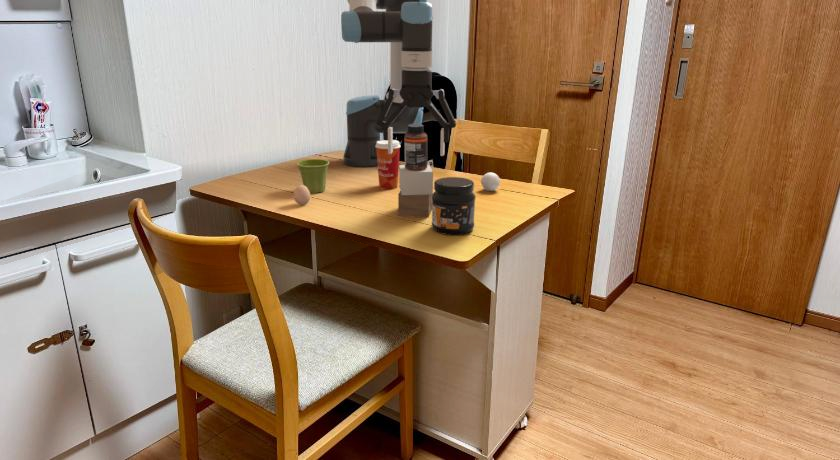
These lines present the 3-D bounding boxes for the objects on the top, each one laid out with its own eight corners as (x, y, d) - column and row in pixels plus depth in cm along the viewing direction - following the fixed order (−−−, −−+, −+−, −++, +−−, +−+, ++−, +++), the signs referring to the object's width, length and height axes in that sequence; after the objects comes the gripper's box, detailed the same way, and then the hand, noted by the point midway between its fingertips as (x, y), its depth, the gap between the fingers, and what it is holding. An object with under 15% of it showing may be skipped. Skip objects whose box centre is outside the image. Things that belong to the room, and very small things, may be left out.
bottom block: (403, 206, 159) (403, 185, 157) (432, 208, 158) (432, 187, 156) (398, 216, 152) (398, 194, 149) (428, 217, 150) (428, 195, 148)
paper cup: (370, 186, 178) (369, 141, 173) (388, 182, 183) (388, 138, 178) (388, 191, 173) (387, 145, 168) (406, 186, 178) (406, 141, 173)
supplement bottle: (416, 164, 155) (416, 122, 151) (432, 168, 151) (432, 125, 147) (400, 168, 151) (399, 124, 147) (415, 172, 147) (415, 127, 143)
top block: (399, 186, 156) (399, 165, 154) (428, 186, 157) (428, 164, 155) (402, 195, 148) (401, 172, 146) (432, 194, 149) (433, 171, 147)
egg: (291, 204, 160) (290, 184, 158) (306, 201, 163) (305, 182, 161) (298, 208, 157) (297, 188, 155) (313, 205, 159) (312, 185, 158)
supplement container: (423, 231, 141) (423, 183, 136) (444, 219, 149) (445, 174, 145) (461, 239, 135) (463, 190, 131) (481, 226, 144) (483, 180, 140)
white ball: (481, 187, 178) (482, 169, 176) (499, 188, 177) (500, 170, 175) (479, 194, 171) (479, 176, 169) (498, 195, 170) (499, 177, 168)
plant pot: (324, 196, 168) (322, 167, 165) (293, 194, 170) (291, 165, 167) (335, 187, 176) (333, 160, 174) (306, 185, 178) (304, 158, 175)
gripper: (363, 69, 140) (365, 155, 148) (466, 71, 137) (463, 158, 144) (370, 67, 147) (372, 149, 155) (468, 68, 144) (465, 152, 151)
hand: (416, 154), depth 149 cm, fingers open, 13 cm apart
